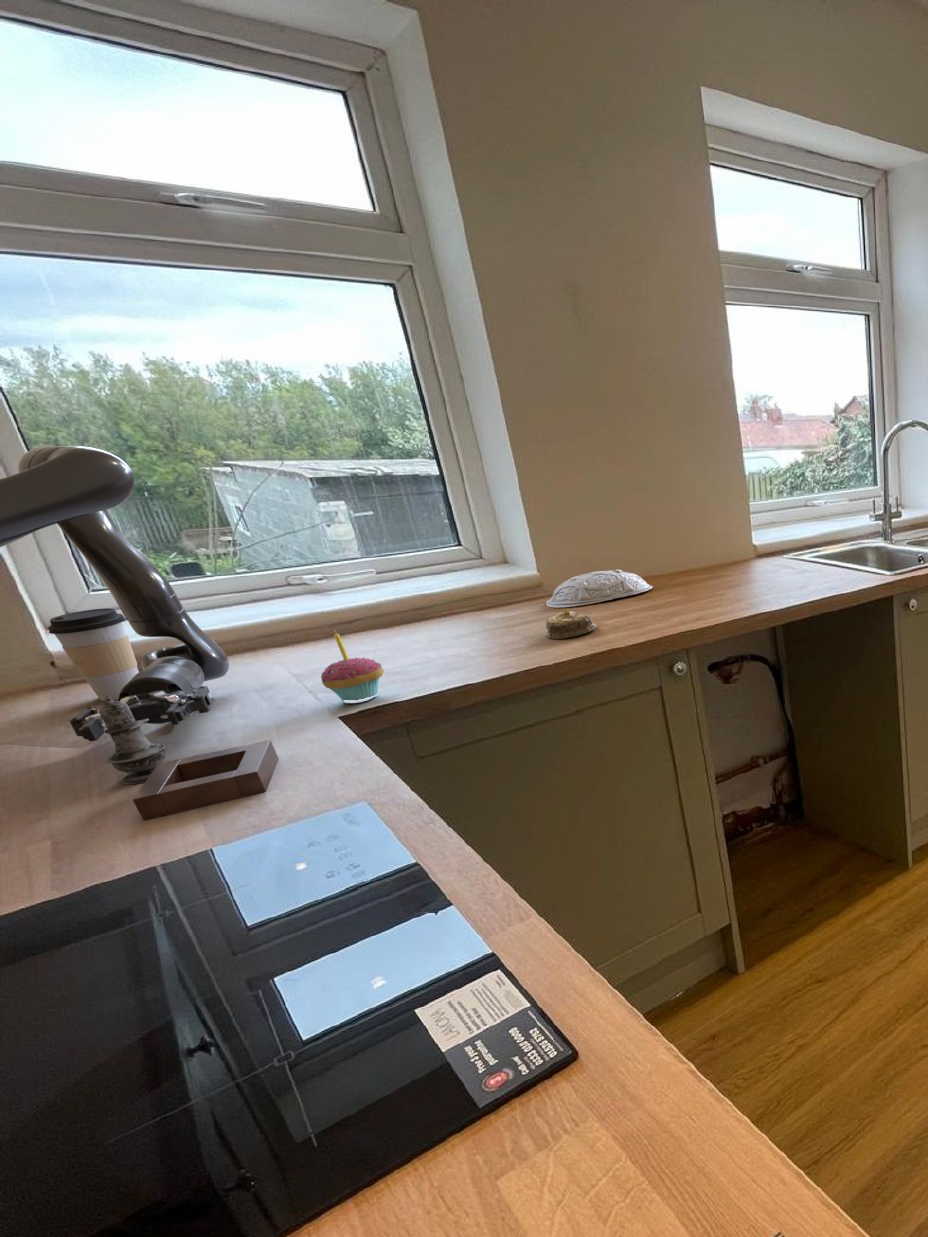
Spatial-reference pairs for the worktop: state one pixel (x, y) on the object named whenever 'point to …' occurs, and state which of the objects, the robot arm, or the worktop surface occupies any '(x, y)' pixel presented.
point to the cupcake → (352, 676)
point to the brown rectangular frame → (206, 779)
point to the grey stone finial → (130, 743)
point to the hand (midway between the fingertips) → (131, 726)
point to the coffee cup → (97, 648)
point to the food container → (596, 588)
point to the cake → (568, 625)
